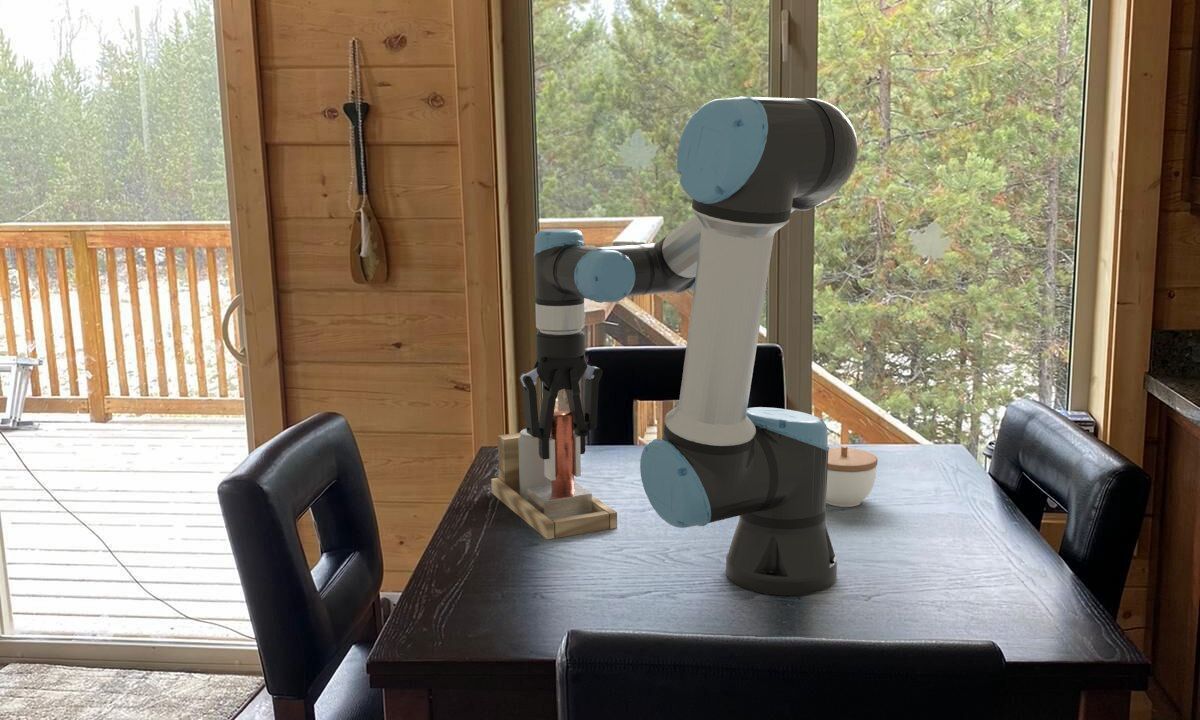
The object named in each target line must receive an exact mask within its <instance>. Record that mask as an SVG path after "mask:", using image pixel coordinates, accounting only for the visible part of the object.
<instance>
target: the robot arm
mask: <svg viewBox="0 0 1200 720" xmlns="http://www.w3.org/2000/svg"><path fill="white" fill-rule="evenodd" d="M857 138H858V137H857V134H856V131H855V129H854V127H853V125H852V123H851V121H850V120H849V119H848V117H847V116H846V115H845V113H844V112H843V111H841V110H840V109H839V108H838V107H836V106H835V105H834V104H831V103H829V102H827V101H825V100H821V99H818V98H814V97H813V98H810V97H807V98H806V97H799V98H795V97H793V98H790V97H789V98H788V97H787V98H786V97H763V96H762V97H761V96H754V97H753V96H743V95H738V96H735V97H728V98H727V97H726V98H717V99H713V100H710V101H708V102H706V103H705V104H703V105H702V106H700V107H699V109H698V111H696V112H694V113H693V114H692V115H691V116H690V118H689V120H688V121H687V122H686V125H685V126H684V128H683V130H682V133H681V136H680V139H679V142H678V147H677V153H676V170H677V173H678V174H679V175H681V176H680V178H679V179H680V180H679V183H680V185H681V187H682V189H683V190H684V192H685V194H686V195H687V196H688V197H690V198H691V199H692V201H691V202H692V203H691V210H692V212H693V213H694V214H693V215H692V216H691V217H690V218H688V219H687V220H685V221H684V222H683V223H682V224H680V225H678V227H676V228H675V229H674V230H673V231H671V232H670V233H668V234H667V235H666V236H665V237H663V238H661V239H660V240H659V241H656V242H654V243H642V244H640V243H639V244H631V245H615V246H614V245H613V246H601V247H600V246H599V247H598V246H597V247H595V246H586V245H585V241H584V240H585V239H584V234H583V233H582V231H581V230H579V229H575V228H549V229H542V230H539V231H537V233H536V234H535V236H534V252H533V255H532V256H533V263H534V264H533V265H534V268H533V269H534V272H533V273H534V294H535V304H534V305H535V328H537V330H538V331H536V333H535V349H536V350H535V351H536V353H535V354H536V362H535V364H534V366H533V369H532V370H530V371H528V372H526V373H524V372H523V373H520V374H519V375H518V380H519V382H520V384H521V386H522V389H523V390H522V391H523V403H524V417H525V429H526V430H527V433H528V434H530V435H531V436H533V437H537V438H538V439H539V456H540V458H542V459H543V460H544V472H545V477H547V478H548V479H550V480H551V481H552V480H556V477H555V440H554V439H553V438H551V437H550V435H551V428H552V422H553V415H554V412H555V408H556V407H555V406H556V401H557V398H558V396H559V392H560V391H562V390H564V391H565V394H566V397H567V404H568V407H569V412H572V413H573V434H574V477H576V478H577V477H578V478H579V477H582V475H581V473H582V471H581V470H582V463H581V461H582V460H581V456H582V455H585V453H586V437H587V436H588V435H589V432H590V431H595V430H596V429H597V428H598V427H597V426H598V409H599V405H598V403H599V386H600V385H599V383H600V381H601V378H602V377H603V372H604V371H603V369H602V368H600V367H597V366H595V365H592V366H591V365H589V364H588V363H587V360H586V357H585V355H586V354H585V353H586V339H585V337H586V336H585V335H586V334H585V332H584V331H583V330H582V329H584V328H585V327H586V326H585V323H586V322H585V319H586V318H585V299H586V300H590V301H594V302H595V303H600V304H601V303H602V304H603V303H610V304H611V303H618V302H620V301H622V300H623V299H624V298H626V297H627V298H628V297H635V296H637V297H638V296H644V295H647V296H648V295H655V294H656V295H657V294H669V293H673V294H674V293H675V294H676V293H677V294H678V293H682V292H685V291H689V290H693V294H692V301H691V309H690V316H689V322H688V323H689V325H688V332H687V340H686V345H685V346H686V347H685V354H684V362H683V368H682V369H683V372H682V378H681V379H682V380H681V384H680V385H681V386H680V392H679V393H680V394H679V401H678V405H677V406H675V407H674V408H672V409H671V410H669V411H668V412H667V413H666V415H665V417H664V424H663V432H662V437H661V438H655V439H652V441H650V442H648V444H647V445H645V446H644V448H643V449H642V453H641V456H640V461H639V462H640V463H639V468H640V469H639V470H640V471H639V472H640V477H641V482H642V486H643V489H644V492H645V495H646V496H647V499H648V502H649V503H650V505H651V507H652V509H653V510H654V511H655V513H656V514H657V515H658V516H659V518H661V519H662V520H663V521H664V522H666V523H667V524H668V525H670V526H672V527H675V528H680V529H683V528H685V529H686V528H690V527H691V528H692V527H696V526H697V527H698V526H699V527H705V526H707V525H709V524H710V523H715V522H720V521H722V520H723V521H724V520H728V519H730V518H731V519H733V518H735V517H739V518H738V519H739V520H738V523H737V525H736V528H735V532H734V534H733V537H732V540H731V542H730V546H729V550H728V551H727V553H726V558H725V575H726V577H727V578H728V579H729V580H730V581H731V582H732V583H734V584H736V585H738V586H739V587H741V588H743V589H746V590H749V591H753V592H757V593H762V594H765V595H766V594H767V595H775V596H801V595H810V594H814V593H819V592H821V591H824V590H827V589H828V588H830V587H831V586H833V585H834V584H835V583H836V581H837V576H838V575H837V572H838V571H837V570H838V569H837V568H838V563H837V557H836V555H835V552H834V549H833V545H832V541H831V539H830V538H831V537H830V535H829V531H828V528H827V525H826V517H827V515H826V512H827V508H826V507H827V506H826V505H827V503H826V490H827V468H828V451H829V448H830V447H829V446H828V445H829V444H828V443H829V442H828V440H829V439H828V438H829V437H828V427H827V424H826V423H825V421H823V419H821V418H820V417H818V416H816V415H812V414H810V413H807V412H804V411H803V412H802V411H798V410H793V409H785V408H779V407H778V408H777V407H766V406H765V407H763V406H758V407H757V406H756V407H748V405H749V399H750V392H751V387H752V386H751V385H752V379H753V373H754V366H755V361H756V354H757V347H758V342H759V334H760V327H761V321H762V316H763V315H762V314H763V309H764V302H765V296H766V289H767V284H768V282H767V281H768V275H769V270H770V265H771V257H772V256H771V255H772V251H773V244H774V239H775V238H774V237H775V234H776V232H778V231H779V230H780V229H781V228H783V227H785V226H786V225H787V224H788V223H789V222H790V220H791V214H792V213H793V212H794V211H800V212H801V211H809V210H811V209H813V208H815V207H817V206H818V205H819V204H821V203H823V202H824V201H826V200H827V199H829V198H830V197H831V196H832V195H834V194H836V193H837V192H839V190H840V189H841V188H842V187H844V185H845V184H847V182H848V181H849V179H850V177H851V175H852V173H853V172H854V169H855V167H856V164H857V160H858V153H859V150H858V148H859V147H858V145H859V144H858V139H857ZM583 376H584V378H585V383H584V385H585V386H584V405H582V399H581V395H580V394H581V388H580V383H579V382H580V380H581V379H582V377H583ZM537 378H539V380H540V381H541V382H542V383H543V385H542V401H541V405H540V406H541V407H540V412H538V411H539V410H538V397H537V395H538V394H537V389H536V385H537ZM583 407H584V408H583Z"/></svg>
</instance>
